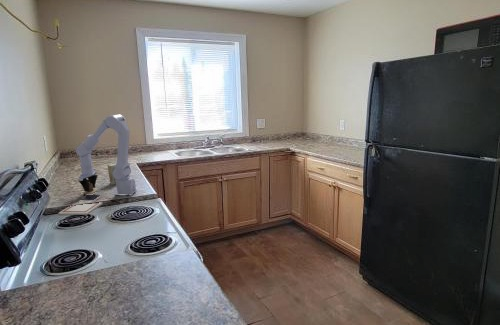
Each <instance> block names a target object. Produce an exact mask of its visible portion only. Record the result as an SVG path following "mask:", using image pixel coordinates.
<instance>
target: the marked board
mask: <svg viewBox="0 0 500 325" xmlns="http://www.w3.org/2000/svg"><path fill="white" fill-rule="evenodd" d="M98 202H99V203H92V204H83V205H76V206H74V205H73V204H72V205H73V206H71V205H69V206H70V207H69V206H68V207H66V208H64V209H63V210H61V211H59V212H58V213H57V214H58V215H65V216H67V215H68V216H69V215H73V216H74V215H76V216H77V215H83V216H85V215H89V214H91V213H92V212H94V211H95V210H96V209H97V208H99V207H101V206H102V205H103V202H102V201H101V202H100V201H98Z"/></svg>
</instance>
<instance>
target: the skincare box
mask: <svg viewBox="0 0 500 325" xmlns="http://www.w3.org/2000/svg"><path fill="white" fill-rule="evenodd" d="M116 163H117V162H115V163H111V164H108V165H107V169H108V170H107V172H108V177H109V183H110V184H111V185H116V179H115V178H114V177H113V171H114V169H115V165H116Z"/></svg>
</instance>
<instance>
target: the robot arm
mask: <svg viewBox="0 0 500 325" xmlns="http://www.w3.org/2000/svg"><path fill="white" fill-rule="evenodd" d="M108 129H112V130H114V132H116V133H117V134H118V140H117V157H116V162H115V163H116V165H115V169H114V171H113V177H114V178H115V179H116V184H115V185H116V191H117V192H116V193H118V194H132V195H134V194H135V193H136V192H137V187H136V180H135V179H134V178H132V177H130V175H131V172H132V169H131V166H130V162H128V161H129V145H130V144H129V143H130V128H129V125H128V124H127V119H126V118H125V117H124V115H122V114H120V113H119V114H117V113H116V114H112V115H108V116H106V117H105V119H103V120H102V122H101V124H100V125H98V128H97V129H96V130H95V131H94V133H93V134H89V135H86V139H85V140H84V141H82V142H81V145H78V146H77V147H76V148H75V153H76V154H77V155H78V157H79V164H80V171H81V173H80V175H79V176H78V183H80V185H81V187H82V189H83V190H84V192H85V191H89V183H92V185H93V189H95V188H96V183H97V179H98V176H99V175H98V174H97V173H98V172H97V171H98V170H94V169H93V162H92V161H93V160H92V153H93V149H94V148H95V147H96V146H97V144H99V143H100V138H101V137H102V136H103V135H104V134H105V132H106V131H107V130H108ZM134 192H135V193H134ZM133 193H134V194H133Z"/></svg>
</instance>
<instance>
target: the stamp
mask: <svg viewBox="0 0 500 325" xmlns="http://www.w3.org/2000/svg"><path fill="white" fill-rule="evenodd" d="M95 192H97V193H98V189H94V188H93V185H92V183H89V191H84V192H83V195H84V194H93V193H95ZM95 194H96V193H95ZM93 195H94V194H93Z"/></svg>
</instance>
